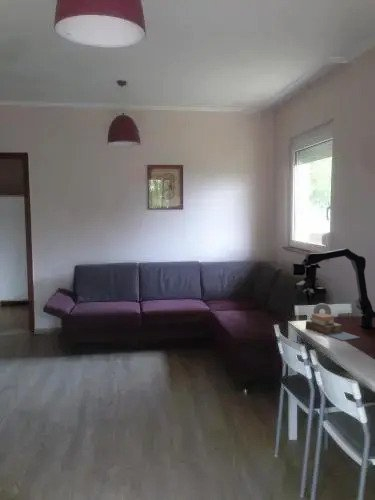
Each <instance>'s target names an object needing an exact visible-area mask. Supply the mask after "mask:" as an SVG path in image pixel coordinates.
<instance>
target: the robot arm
mask: <svg viewBox="0 0 375 500" xmlns="http://www.w3.org/2000/svg"><path fill="white" fill-rule="evenodd" d="M340 257H341V258H342V257H345V258H346V259H348V260H350V262H351V265H352V268H353V270H354V272H355V278H356V285H357V293H358V299H355V304H356V307H355V308H357V310H358V311H359V312H360V314H361V321H360V324H359V325H358V326H359V327H360V328H361V327H362V328H365V329H368V330H369V329H374V328H375V310H373V306H372V302H371V301H370V299H369V296H368V289H367V281H366V275H365V271H366V266H367V264H366V261H367V260H366V258H365V256H361V255H358V254H357V253H355V252H353V251H351V250H350V249H349V248H346V247H345V248H340V249H335V250H329V251H324V252H308V253H306V254H305V257H304V259H303V260H302V262H301V263H295V262H292V265H291V269H290V273H291V276H296V277H300V276H301V277H303V276H304V275H305V276H304V277H303V279H302V280H301V281H299V282H297V283H296V284H295V285H294V289H295V290H298V291H301V292H302V293H303V294H304V296H305V298H306V302H307V304H308V305H312V303H313V301H314V300H315V298H316V296H317V295H324V294H325V295H326V294H327V289H326V288H325V287H318V285H317V281H318V280H319V278H317V270H318V269H321V268H322V267H321V266H320V265H319V263H321V262H323V261H325V260H331V259H336V258H340Z"/></svg>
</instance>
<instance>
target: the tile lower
mask: <svg viewBox="0 0 375 500" xmlns="http://www.w3.org/2000/svg"><path fill="white" fill-rule="evenodd" d="M311 320H312V321H311ZM311 320H310V321H311V322H314V323H317V324H321V325H327V324H334V323H335V319H334V320H329V321H320V320H317V319H313V318H312V317H311Z"/></svg>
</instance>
